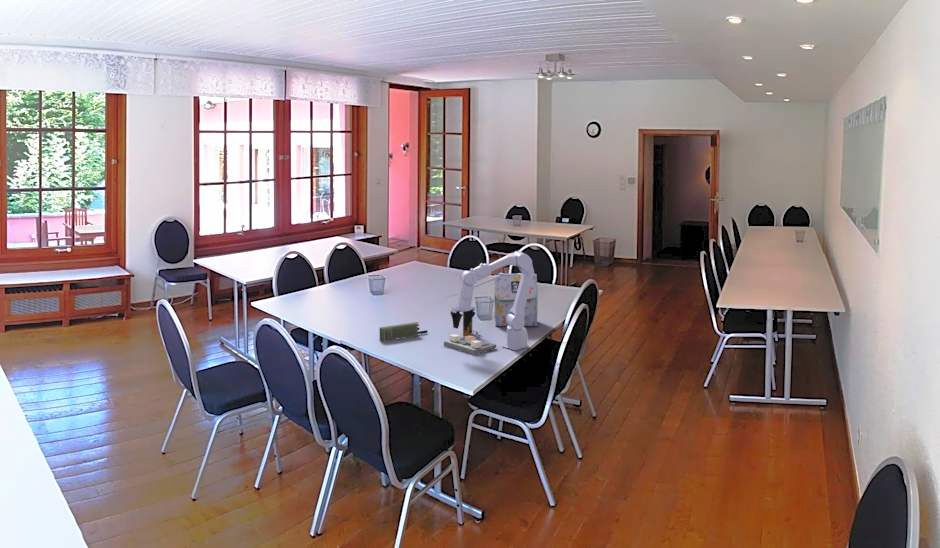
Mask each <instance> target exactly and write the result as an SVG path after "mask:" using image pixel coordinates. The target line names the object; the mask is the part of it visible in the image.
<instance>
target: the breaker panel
mask: <svg viewBox="0 0 940 548" xmlns="http://www.w3.org/2000/svg"><path fill="white" fill-rule="evenodd" d="M465 337H466V336H461V337H460V341H457V342H453V341H450V339H449V340H445V341H443V346H444V347H446V346H448V347H447V348H449V347H451V348H450V349H453V348H454V350H456V349H457V350H456V351H459V350H461V351H460V352H462V351H464V352H463V353H466V352H467V353H466V354H469V353H471V354H470V355H472V354H477V355H479V354H478V353H480V354H482V353H481V352H484V353H486V352H485V351H487V352H490V351H489V350H491V351H493V350H492V349H494V350H496V349H497V344H496V343H495V344H494V343H491V342H488V341H485V340H481V339H478V338H475V340H477V341H480V342H481V347H480V348H473V347H471V344H469V343H465ZM495 348H496V349H495Z"/></svg>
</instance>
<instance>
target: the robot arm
mask: <svg viewBox="0 0 940 548" xmlns="http://www.w3.org/2000/svg"><path fill="white" fill-rule="evenodd" d="M506 266H512V267H513V266H515V267H517V268H518V269H519V271H520V273H522V276H521V279H520V283H519V286H518V290H517V294H516V297H515V301H514V304H513V307H512V308H511V309H510V312H509V313H508V314H507V316H506V322H507V324H508V326H506V345H505V344H504V345H503V346H502V347H503V348H505V349H508V348H509V350H511V351H518V350H522V349H525V348H528V347H529V346H530V345H528V330H527V329H526V327H525V326H524V324H525V322H524V317H525V314H524V308H525V304H526V301H527V297H528V294H529V290H530V286H531V283H532V279H533V276H534V274H535V270H534V266H533V260H532V258H531V257H530V256H529V255H528V254H526V253H524V252H523V251H520V250H515V251H514V252H511V253H509V254H507V255H505V256H503V257H501V258H499V259H497V260H495V261H493V262H490V263H489V264H488V263H483V262H481V263H479V265H478V266H476V267H475V268H470V269H469V270H465V271H463V272H462V274H461V275H460V280H461V284H460V288H459V289H460V290H459V296H458V303H457V304H456V305H455V306H454V307H452V308H451V311H450V316H451V319H452V328H454V329H459V325H460V322H461V319H462V318H463V312H464V326H465V327H468V326H469V324H470V321H471V319H472V320H473V318H474V316H475V315H476V312H475V310H476V306H475V305H474V306H473V305H472V301H473V300H472V299H473V293H474V286H475V285H476V283H477V282H478V281H480V280H482V279H485V278H487V277H489V276H491V274H492V272H494V271H496V270H500V269H502V268H504V267H506Z"/></svg>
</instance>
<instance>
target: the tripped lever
mask: <svg viewBox="0 0 940 548" xmlns="http://www.w3.org/2000/svg"><path fill="white" fill-rule="evenodd" d="M475 337H476V336H473V335H471V334H470V335H469V336H466V337H465V343H469V344H471V341H474V340H475V339H476V338H475Z"/></svg>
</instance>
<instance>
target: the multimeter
mask: <svg viewBox="0 0 940 548" xmlns="http://www.w3.org/2000/svg"><path fill="white" fill-rule="evenodd" d="M462 315H463V316H462V337H464V336H469V335H470V336H471V333H472V334H473V318H472V319H471V321H470V324H469V326H468V327H465V326H464V312H462ZM475 335H477V336H474V337H475V339H478V337H482V338H484V337H483V335H480V334H478V331H476V332H475ZM478 335H479V336H478Z"/></svg>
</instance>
